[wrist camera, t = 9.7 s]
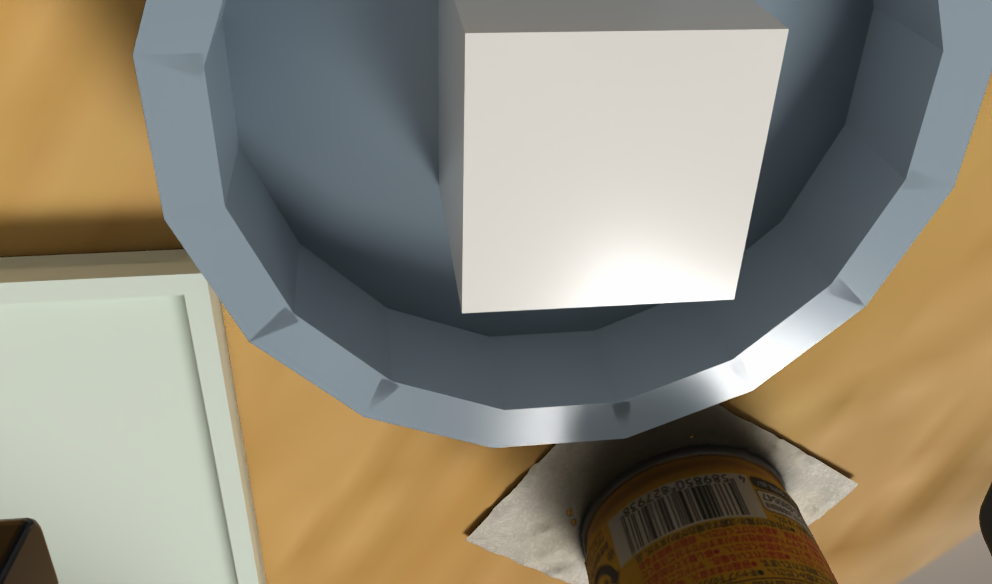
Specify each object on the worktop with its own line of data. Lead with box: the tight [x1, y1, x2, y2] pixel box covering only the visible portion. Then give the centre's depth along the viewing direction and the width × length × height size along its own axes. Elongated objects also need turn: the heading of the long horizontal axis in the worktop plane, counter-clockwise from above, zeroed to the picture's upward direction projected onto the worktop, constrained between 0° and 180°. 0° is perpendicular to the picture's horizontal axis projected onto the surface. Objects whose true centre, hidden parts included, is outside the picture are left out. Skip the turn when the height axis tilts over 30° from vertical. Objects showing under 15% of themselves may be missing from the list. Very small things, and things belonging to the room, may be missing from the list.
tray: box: [0, 249, 267, 584], centre depth 22 cm, size 12×10×1 cm
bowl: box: [133, 0, 992, 448], centre depth 17 cm, size 14×14×4 cm
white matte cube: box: [438, 0, 789, 313], centre depth 16 cm, size 4×4×4 cm
